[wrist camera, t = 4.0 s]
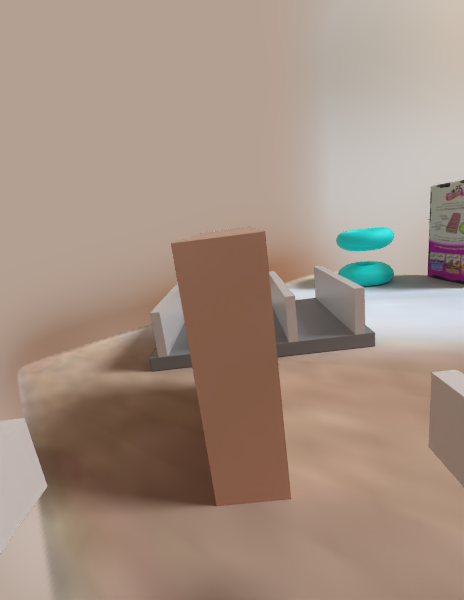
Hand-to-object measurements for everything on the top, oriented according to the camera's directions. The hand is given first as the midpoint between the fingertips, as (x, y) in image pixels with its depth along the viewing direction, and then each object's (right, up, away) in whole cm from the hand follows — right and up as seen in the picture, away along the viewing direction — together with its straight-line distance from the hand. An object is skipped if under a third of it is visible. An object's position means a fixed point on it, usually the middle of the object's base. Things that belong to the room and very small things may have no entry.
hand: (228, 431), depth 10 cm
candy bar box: (+40, +8, +43) cm, 59 cm away
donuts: (+26, +8, +50) cm, 57 cm away
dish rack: (+3, 0, +30) cm, 31 cm away
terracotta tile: (+1, -5, +12) cm, 13 cm away
